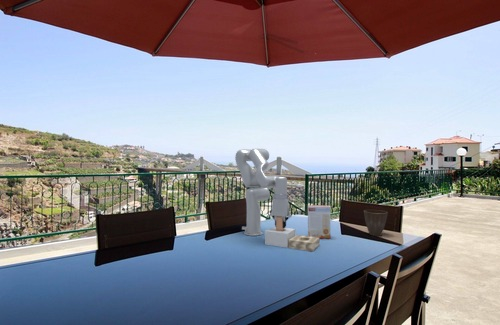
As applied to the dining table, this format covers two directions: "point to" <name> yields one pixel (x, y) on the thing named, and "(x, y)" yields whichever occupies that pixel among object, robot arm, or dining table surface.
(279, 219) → the plug
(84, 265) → the dining table surface
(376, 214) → the plant pot
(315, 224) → the cracker box
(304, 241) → the lower socket
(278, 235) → the upper socket
